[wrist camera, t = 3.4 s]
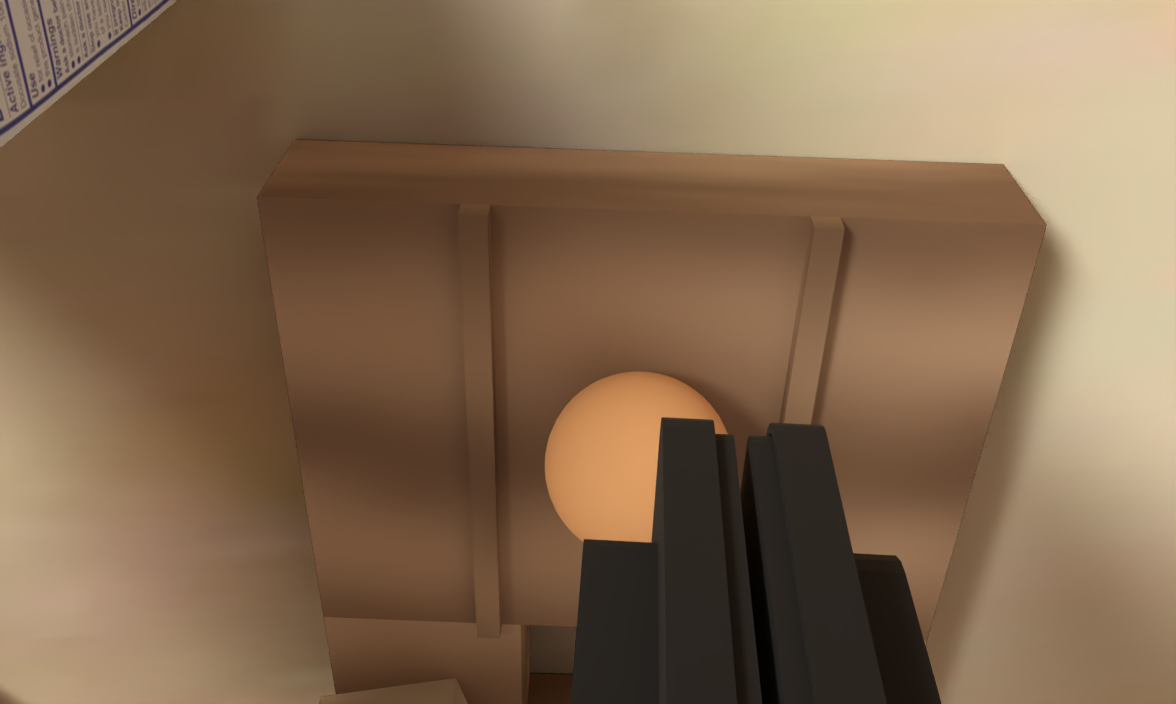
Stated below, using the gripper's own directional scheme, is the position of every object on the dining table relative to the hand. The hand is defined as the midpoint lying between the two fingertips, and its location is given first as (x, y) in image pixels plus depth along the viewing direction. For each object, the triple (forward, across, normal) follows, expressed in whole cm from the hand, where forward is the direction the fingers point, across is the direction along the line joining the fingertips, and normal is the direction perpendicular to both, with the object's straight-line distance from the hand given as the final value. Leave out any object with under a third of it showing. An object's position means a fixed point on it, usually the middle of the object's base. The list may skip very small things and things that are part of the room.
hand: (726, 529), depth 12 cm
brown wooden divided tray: (+14, +1, +12) cm, 19 cm away
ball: (+9, +1, +7) cm, 11 cm away
